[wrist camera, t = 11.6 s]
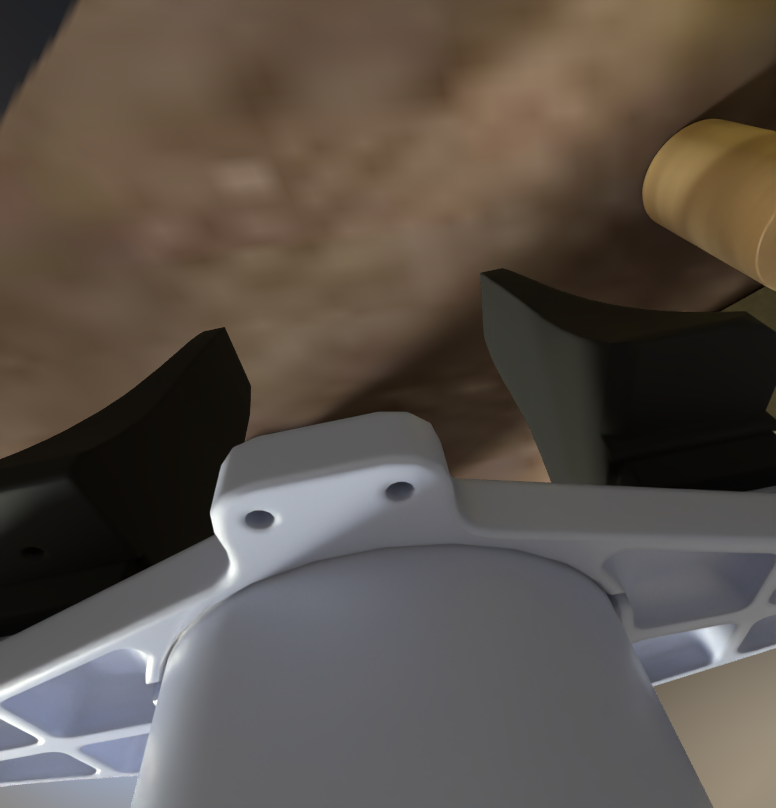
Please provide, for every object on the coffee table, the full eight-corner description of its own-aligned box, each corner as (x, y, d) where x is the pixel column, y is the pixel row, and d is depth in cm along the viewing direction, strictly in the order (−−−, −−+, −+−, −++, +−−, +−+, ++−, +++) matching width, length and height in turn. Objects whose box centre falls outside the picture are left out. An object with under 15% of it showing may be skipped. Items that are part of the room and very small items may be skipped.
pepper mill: (728, 215, 23) (891, 290, 17) (634, 235, 24) (759, 317, 17) (756, 107, 21) (967, 145, 14) (650, 130, 21) (807, 179, 14)
